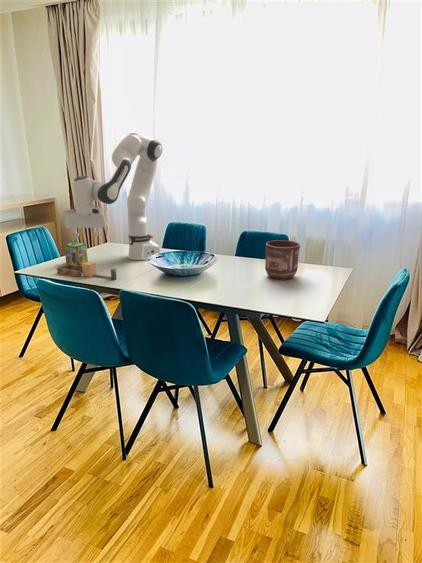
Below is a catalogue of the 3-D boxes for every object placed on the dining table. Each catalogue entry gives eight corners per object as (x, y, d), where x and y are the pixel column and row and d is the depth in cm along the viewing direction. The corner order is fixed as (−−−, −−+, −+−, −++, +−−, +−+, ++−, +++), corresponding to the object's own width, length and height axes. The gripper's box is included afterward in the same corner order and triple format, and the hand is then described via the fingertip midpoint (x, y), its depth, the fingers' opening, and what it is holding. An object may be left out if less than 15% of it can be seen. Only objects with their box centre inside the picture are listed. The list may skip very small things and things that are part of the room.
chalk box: (79, 266, 237) (76, 241, 232) (65, 265, 240) (62, 239, 235) (88, 262, 245) (86, 237, 241) (75, 260, 248) (72, 236, 243)
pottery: (297, 283, 210) (300, 248, 205) (262, 280, 214) (264, 246, 208) (297, 273, 227) (300, 240, 221) (265, 271, 230) (267, 239, 225)
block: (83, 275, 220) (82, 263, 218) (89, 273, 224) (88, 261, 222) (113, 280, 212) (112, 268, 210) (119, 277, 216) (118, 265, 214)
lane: (57, 273, 224) (56, 268, 223) (69, 268, 232) (69, 263, 231) (79, 277, 218) (79, 271, 217) (91, 272, 226) (91, 267, 225)
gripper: (61, 210, 205) (64, 238, 210) (104, 210, 208) (106, 237, 212) (64, 208, 211) (67, 235, 216) (105, 208, 214) (107, 234, 218)
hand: (86, 236), depth 214 cm, fingers open, 8 cm apart
